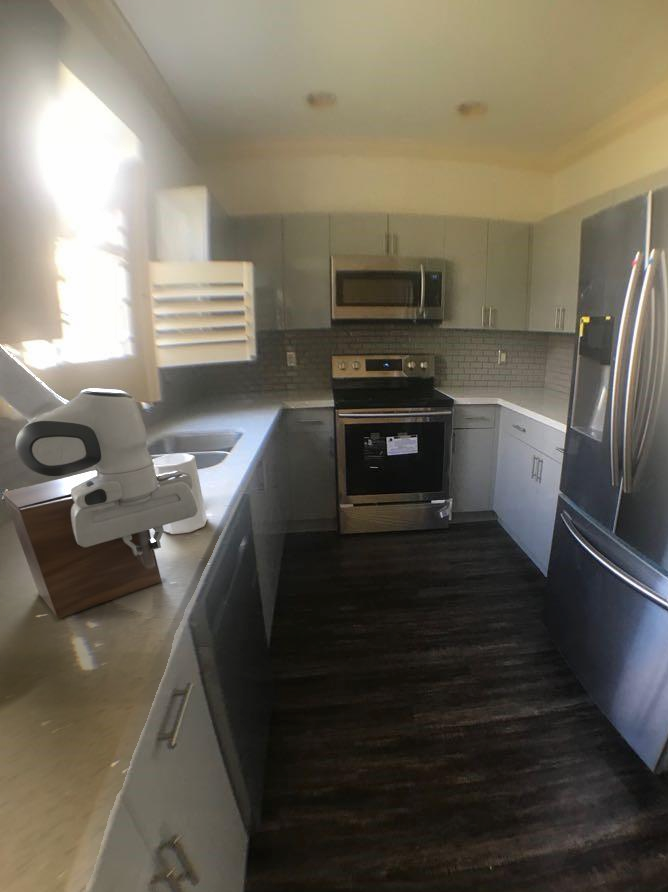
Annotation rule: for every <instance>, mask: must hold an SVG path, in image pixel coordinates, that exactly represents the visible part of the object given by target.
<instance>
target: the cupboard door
mask: <svg viewBox="0 0 668 892" xmlns="http://www.w3.org/2000/svg"><path fill="white" fill-rule="evenodd" d="M73 504H74V501H73V499H72V497H68V498H64V499H59V500H55V501H51V502H46V503H42V504H37V505H33V506H29V507H24V508H20V511H21V514H22V517H23V520H24V523H25V525H26V528H27V531H28V534H29V537H30V540H31V542H32V545H33V548H34V551H35V554H36V557H37V559H38V562H39V565H40V568H41V571H42V574H43V576H44V579H45V582H46V585H47V588H48V591H49V593H50V596H51V599H52V602H53V605H54V607H55V610H56V613H57V616H58V617H57V616H56V617H57V618H58V620H59V619H62V618H65V617H68V616H71V615H74V614H76V613H80V612H82V611H84V610H86V609H90V608H93V607H96V606H98V605H101V604H104V603H106V602H107V603H108V602H109V601H112V600H115V599H118V598H120V597H123V596H126V595H128V594H131V593H134V592H137V591H140V590H142V589H146V588H148V587H151V586H153V585H156V584H159V583H162V582H163V581H162V577H161V572H160V568H159V565H158V561H157V557H156V552H155V550H152V549H151V546H150V542H149V539H152V537H151V533H150V529H149V530H145V531H142V532H138V533H135V534H131V536H132V540H131V541H132V542H133V543H134V544H135V543H140V544H141V546H142V551H143V553H142V554H139V555H136V556H134V554H133V552H132V549H131V547H130V546H129V545H127V544H126V543H125V542H124V541H123V540H122V538H117V539H114V540H110V541H107V542H103V543H100V544H96V545H93V546H89V547H82V546H80V545H78V544H77V542H76V539H75V536H74V532H73V528H72V522H71V508H72V506H73Z"/></svg>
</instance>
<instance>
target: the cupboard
mask: <svg viewBox="0 0 668 892" xmlns="http://www.w3.org/2000/svg"><path fill="white" fill-rule="evenodd" d="M96 475H97V472H96V469H95V470H91V471H87V472H83V473H79V474H74V475H71V476H66V477H62V478H58V479H53V480H50V481H45V482H40V483H36V484H32V485H28V486H24V487H20V488H14V489H10V490H7V491H3V492H2V496H3V500H4V501H5V504H6V507H7V510H8V513H9V515H10V518H11V521H12V523H13V527H14V529H15V531H16V534H17V537H18V540H19V542H20V546H21V548H22V551H23V554H24V556H25V559H26V562H27V566H28V568H29V570H30V573H31V575H32V578H33V581H34V584H35V587H36V589H37V593H38V595H39V596H40V598H42V600H43V601H44V602H45V604H46V605H47V606H48V607H49V609H50V610H51V612H52V613H54V615H55V616H56V617H57V618H58V616H57V613H56V610H55V607H54V605H53V602H52V599H51V596H50V593H49V591H48V588H47V585H46V582H45V579H44V576H43V574H42V571H41V568H40V565H39V562H38V559H37V557H36V554H35V551H34V548H33V545H32V542H31V540H30V537H29V534H28V531H27V528H26V525H25V523H24V520H23V517H22V514H21V511H20V508H24V507H29V506H33V505H37V504H42V503H46V502H51V501H55V500H59V499H64V498H68V497H72V496H71V489H72V488H73V487H74V486H76V485H78V484H80V483H82V482H84V481H86V480H88V479H90V478H92V477H94V476H96Z"/></svg>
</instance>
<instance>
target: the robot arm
mask: <svg viewBox="0 0 668 892" xmlns="http://www.w3.org/2000/svg"><path fill="white" fill-rule="evenodd" d="M0 399H1V400H3V401H4V402H5V403H6V404H7V405H9V406H10V407H11V408H12V409H14V410H15V411H16V412H17V413H18V414H19V415H21V416H22V417H23V418H24V419H25V420H26V421H27V422H28V423H26V424H25V425H24V426H23V427H22V428H21V429H20V430H19V432H18V434H17V435H16V439H15V444H14V445H15V452H16V454H17V456H18V458H19V460H20V461H21V462H22V463H23V465H25V467H26V468H28V469H30V470H31V471H32V472H35V473H37V474H40V475H42V476H47V477H60V476H61V477H62V476H65V475H69V474H73V473H77V472H81V471H83V470H86V469H89V468H91V467H92V468H94V469H95V470H96V472H97V475H96V476H94V477H92V478H90V479H88V480H86V481H84V482H82V483H80V484H78V485H76V486H74V487H73V488H72V489H71V496H72V499H73V501H74V504H73V506H72V508H71V522H72V528H73V532H74V536H75V539H76V542H77V544H78V545H80V546H82V547H89V546H93V545H96V544H100V543H103V542H107V541H110V540H114V539H117V538H122V540H123V541H124V542H125V543H126V544H127V545H129V546H130V547H131V549H132V552H133V554H134V556H136V555H139V554H142V553H143V551H142V546H141V544H140V543H135V544H134V543H133V542H132V541H131V540H132V536H131V534H135V533H138V532H142V531H145V530H149V531H150V530H152V529H153V531H154V534H153V537H151V539H149V542H150V546H151V549H152V550H154V551H155V550H158V549H161V548H162V546H161V541H160V540H161V538H162V536H163V533H164V532H165V531H164V529H163V525H166V524H170V523H173V522H177V521H180V520H184V519H187V518H191V517H194V516H195V515H196V513H197V511H198V509H197V505H196V502H195V499H194V496H193V494H192V491H191V489H192V480H191V477H190V475H189V474H188V473H185V472H181V471H175V472H173V473H167V474H161V475H156V473H155V468H154V464H153V460H152V459H153V458H152V456H151V454H150V451H149V449H148V433H147V429H146V426H145V423H144V419H143V416H142V413H141V410H140V407H139V405H138V402H137V401H136V399H135V398H134V397H133V396H132V395H130V393H128V392H126V391H123V390H120V389H115V388H106V387H105V388H102V387H98V388H87V389H83V390H81V391H80V392H79V393H78V394H77V395H76V396H75V397H73V399H70V400H67V399H65V398H63V397H62V396H60V395H58V394H57V393H56V392H55V391H53V390H52V389H51V388H50V387H49V386H48V385H46V384H45V382H43V381H42V380H41V379H40V378H39V377H37V376H36V375H35V374H34V373H33V372H32V371H31V370H30V369H29V368H27V367H26V366H25V365H24V364H23V363H22V362H20V361H19V359H17V358H16V357H15V356H14V355H13V354H12V353H11V352H9V351H8V349H6V348H5V347H4V346H2V345H1V344H0ZM182 474H185V475H182Z"/></svg>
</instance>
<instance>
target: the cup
mask: <svg viewBox="0 0 668 892" xmlns="http://www.w3.org/2000/svg"><path fill="white" fill-rule="evenodd" d="M152 460H153V464H154V468H155V473H156V475H161V474H167V473H173V472H175V471H181V472H185V473H188V474H189V475H190V477H191V480H192V489H191V491H192V494H193V496H194V499H195V502H196V505H197V509H198V511H197V513H196V515H195V516H194V517H191V518H187V519H184V520H180V521H177V522H173V523H170V524H166V525H163V529H164V531H163V532H165V533H168V534H171V535H180V534H188V533H189V534H190V533H192V532H195V531H197V530H198V529H201V528H204V527H205V525H206V524H207V523H206V522H207V521H208V519H207V513H206V508H205V503H204V498H203V493H202V487H201V482H200V477H199V471H198V466H197V461H196V457H195V455H193V454H189V453H175V454H166V455H162V456H159V457H155V458H152ZM182 475H185V474H182Z"/></svg>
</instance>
